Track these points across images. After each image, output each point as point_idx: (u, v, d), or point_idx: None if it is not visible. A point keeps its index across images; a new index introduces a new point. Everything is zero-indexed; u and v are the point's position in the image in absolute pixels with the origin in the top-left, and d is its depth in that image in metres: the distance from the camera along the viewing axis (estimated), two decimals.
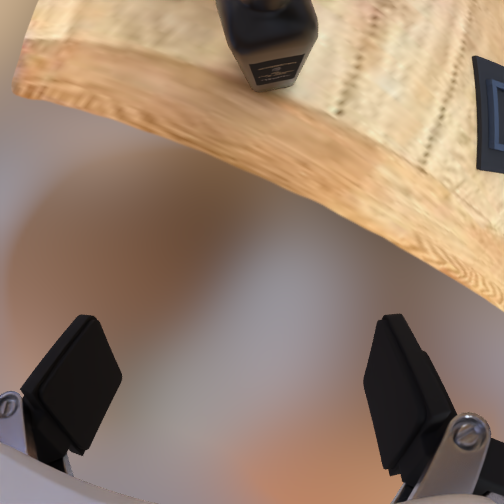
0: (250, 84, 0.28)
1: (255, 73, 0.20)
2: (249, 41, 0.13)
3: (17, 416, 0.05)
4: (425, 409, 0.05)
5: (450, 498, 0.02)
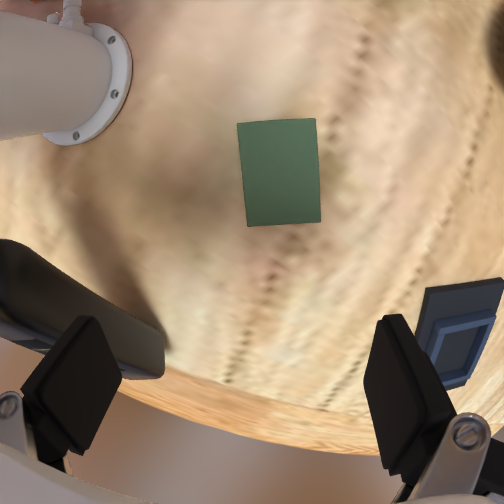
0: None
1: None
2: None
3: (17, 416, 0.05)
4: (425, 409, 0.05)
5: (450, 498, 0.02)
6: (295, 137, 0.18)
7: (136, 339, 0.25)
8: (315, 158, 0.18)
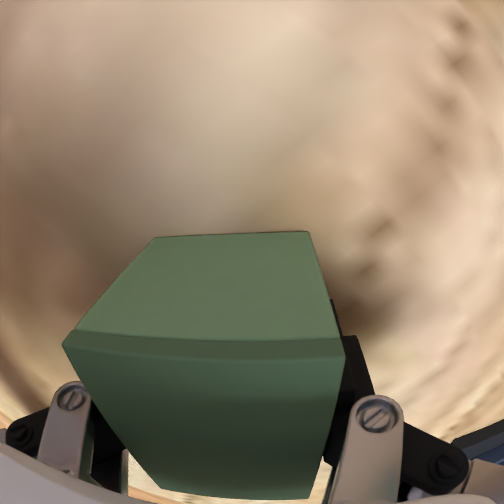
0: None
1: None
2: None
3: (80, 413, 0.05)
4: None
5: (450, 498, 0.02)
6: (257, 408, 0.05)
7: None
8: (317, 443, 0.05)
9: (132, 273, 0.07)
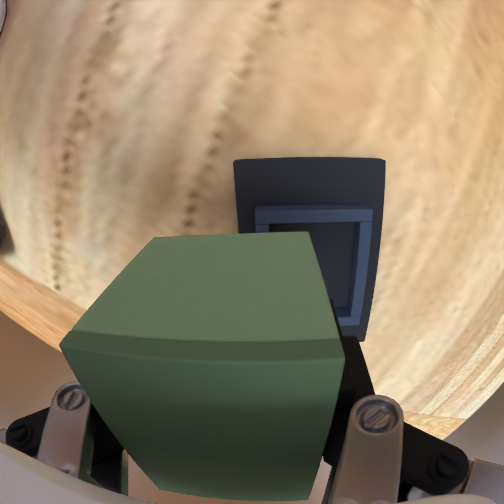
0: None
1: None
2: None
3: (81, 413, 0.05)
4: None
5: (450, 498, 0.02)
6: (256, 410, 0.05)
7: None
8: (317, 445, 0.05)
9: (130, 273, 0.07)
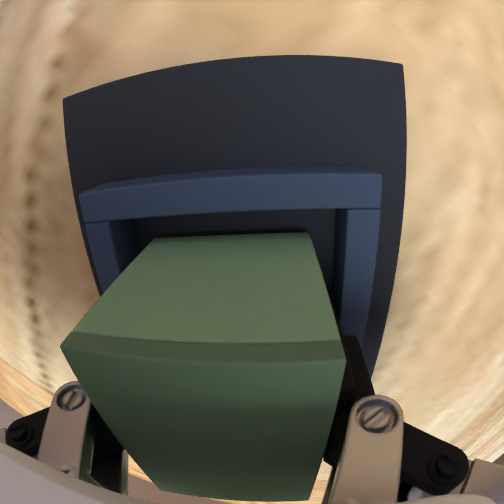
0: None
1: None
2: None
3: (81, 413, 0.05)
4: None
5: (450, 498, 0.02)
6: (257, 411, 0.05)
7: None
8: (318, 445, 0.05)
9: (131, 274, 0.07)
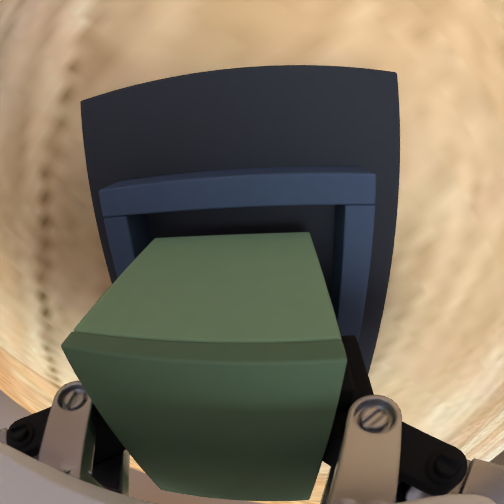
0: None
1: None
2: None
3: (82, 413, 0.05)
4: None
5: (450, 498, 0.02)
6: (258, 410, 0.05)
7: None
8: (318, 445, 0.05)
9: (132, 274, 0.07)
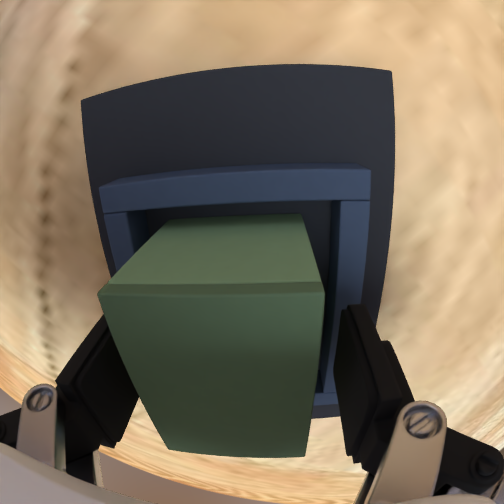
0: None
1: None
2: None
3: (49, 412, 0.05)
4: (376, 394, 0.05)
5: (450, 498, 0.02)
6: (257, 342, 0.06)
7: None
8: (309, 383, 0.07)
9: (153, 244, 0.09)
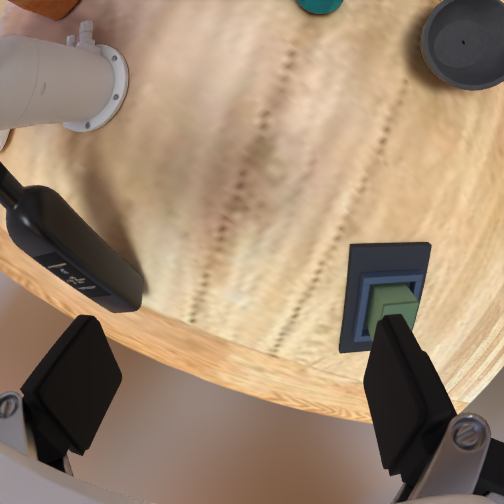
0: None
1: (54, 273, 0.28)
2: (9, 231, 0.21)
3: (17, 416, 0.05)
4: (425, 409, 0.05)
5: (450, 498, 0.02)
6: (408, 311, 0.33)
7: (122, 273, 0.35)
8: (413, 319, 0.34)
9: (380, 293, 0.36)
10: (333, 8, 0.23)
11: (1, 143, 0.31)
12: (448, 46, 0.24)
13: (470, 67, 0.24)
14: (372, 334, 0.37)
